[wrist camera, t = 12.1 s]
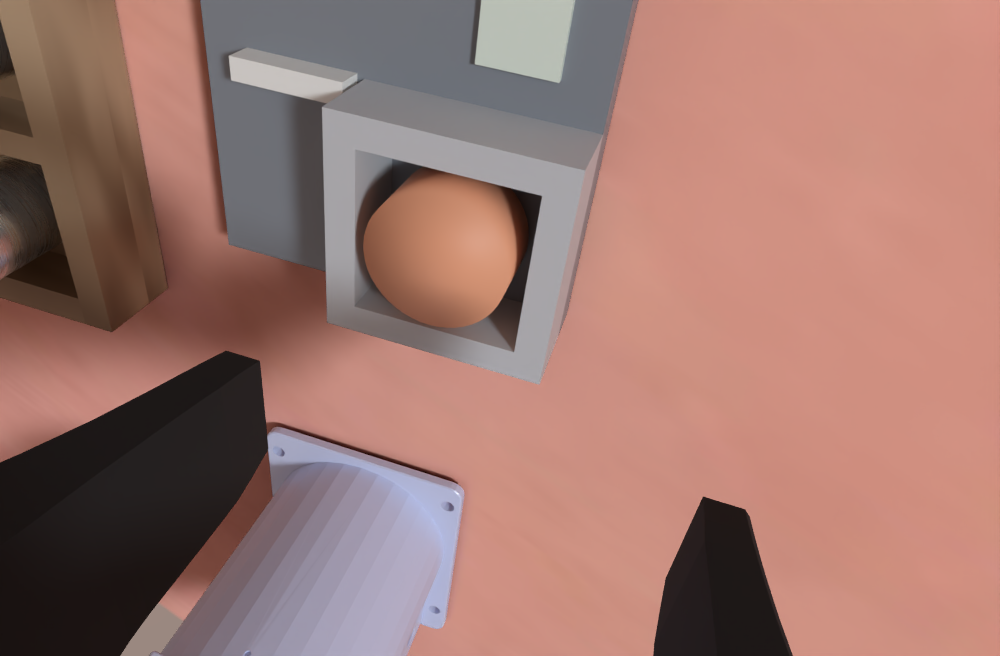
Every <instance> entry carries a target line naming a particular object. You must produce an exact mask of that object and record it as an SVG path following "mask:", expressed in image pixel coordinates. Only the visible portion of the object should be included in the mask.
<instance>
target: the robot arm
mask: <svg viewBox="0 0 1000 656" xmlns="http://www.w3.org/2000/svg"><path fill="white" fill-rule="evenodd" d="M267 450H268V454H269V464H270V474H271V484H272V495H273V498H272V499H271V500H270V502H269V503H268V505H267V506H266V507H265V509H264V510H263V512H262V513H261V514H260V516H259V517H258V518H257V520H256V521H255V523H254V524H253V525H252V527H251V528H250V530H249V531H248V532H247V534H246V535H245V537H244V538H243V539H242V541H241V542H240V544H239V545H238V546H237V548H236V549H235V550H234V552H233V553H232V555H231V556H230V557H229V559H228V560H227V562H226V563H225V564H224V566H223V567H222V569H221V570H220V571H219V573H218V574H217V576H216V577H215V578H214V580H213V581H212V582H211V584H210V585H209V587H208V588H207V589H206V591H205V592H204V594H203V595H202V596H201V598H200V599H199V601H198V602H197V603H196V605H195V606H194V607H193V609H192V610H191V612H190V613H189V614H188V616H187V617H186V619H185V620H184V621H183V623H182V624H181V626H180V627H179V628H178V630H177V631H176V633H175V634H174V635H173V637H172V638H171V639H170V641H169V642H168V644H167V645H166V646H165V648H164V649H163V651H162V652H161V653H159V652H157V651H153V652H151V653H150V655H149V656H407V654H408V651H409V649H410V647H411V644H412V642H413V640H414V637H415V635H416V632H417V630H418V628H419V625H420V624H423V625H425V626H428V627H431V628H435V629H439V628H442V627H443V625H444V623H445V620H446V616H447V609H448V602H449V596H450V589H451V582H452V576H453V569H454V562H455V555H456V549H457V542H458V535H459V529H460V522H461V515H462V508H463V502H464V491H463V489H462V488H461V487H460V486H459V485H458V484H456V483H454V482H451V481H448V480H445V479H442V478H439V477H436V476H433V475H429V474H426V473H423V472H420V471H417V470H414V469H411V468H408V467H404V466H401V465H398V464H395V463H392V462H389V461H386V460H383V459H379V458H376V457H373V456H370V455H367V454H364V453H361V452H358V451H354V450H351V449H348V448H345V447H342V446H339V445H336V444H333V443H329V442H326V441H323V440H320V439H317V438H314V437H311V436H308V435H304V434H301V433H298V432H295V431H292V430H289V429H286V428H283V427H274V428H273V429H272V430H271V431H270V432H269V433H268V435H267V429H266V419H265V408H264V398H263V388H262V378H261V368H260V361H258V360H255V359H252V358H248V357H245V356H242V355H238V354H235V353H232V352H229V351H225V352H223V353H221V354H219V355H217V356H215V357H213V358H211V359H209V360H207V361H205V362H203V363H201V364H199V365H197V366H195V367H193V368H192V369H190V370H188V371H186V372H184V373H182V374H180V375H178V376H176V377H175V378H173V379H171V380H169V381H167V382H165V383H163V384H161V385H160V386H158V387H156V388H154V389H152V390H150V391H148V392H146V393H144V394H142V395H140V396H139V397H137V398H135V399H133V400H131V401H129V402H127V403H125V404H123V405H121V406H119V407H117V408H115V409H113V410H111V411H109V412H107V413H105V414H104V415H102V416H100V417H98V418H96V419H94V420H92V421H90V422H87V423H85V424H83V425H81V426H79V427H77V428H75V429H73V430H70V431H68V432H66V433H64V434H62V435H60V436H58V437H55V438H53V439H51V440H49V441H47V442H45V443H43V444H41V445H38V446H36V447H34V448H32V449H30V450H28V451H26V452H23V453H21V454H19V455H17V456H14V457H12V458H10V459H7V460H5V461H3V462H0V656H120V655H121V654H122V652H123V651H124V649H125V648H126V646H127V644H128V643H129V641H130V640H131V639H132V637H133V636H134V634H135V633H136V632H137V630H138V629H139V628H140V626H141V625H142V623H143V622H144V621H145V619H146V618H147V617H148V615H149V614H150V613H151V611H152V610H153V609H154V608H155V606H156V605H157V604H158V602H159V601H160V600H161V599H162V597H163V596H164V595H165V594H166V592H167V591H168V590H169V588H170V587H171V586H172V585H173V583H174V582H175V581H176V580H177V578H178V577H179V576H180V574H181V573H182V572H183V571H184V569H185V568H186V567H187V566H188V564H189V563H190V562H191V560H192V559H193V558H194V557H195V555H196V554H197V553H198V552H199V550H200V549H201V548H202V546H203V545H204V544H205V543H206V541H207V540H208V539H209V538H210V536H211V535H212V534H213V532H214V531H215V530H216V528H217V527H218V526H219V525H220V523H221V522H222V521H223V519H224V518H225V517H226V516H227V514H228V513H229V512H230V510H231V509H232V508H233V506H234V505H235V504H236V502H237V501H238V499H239V498H240V496H241V494H242V493H243V491H244V490H245V488H246V486H247V485H248V483H249V481H250V480H251V478H252V476H253V475H254V473H255V471H256V469H257V468H258V466H259V464H260V463H261V461H262V459H263V457H264V456H265V454H266V452H267ZM653 656H793V655H792V652H791V650H790V647H789V644H788V641H787V638H786V636H785V633H784V630H783V627H782V625H781V622H780V619H779V616H778V613H777V610H776V607H775V604H774V601H773V598H772V594H771V591H770V588H769V585H768V582H767V578H766V575H765V572H764V568H763V565H762V562H761V558H760V555H759V551H758V547H757V544H756V540H755V536H754V532H753V528H752V524H751V520H750V517H749V515H748V513H747V512H746V510H745V509H742V508H739V507H735V506H732V505H729V504H726V503H722V502H719V501H716V500H712V499H709V498H706V497H703V498H702V500H701V502H700V505H699V507H698V509H697V511H696V513H695V516H694V518H693V520H692V522H691V524H690V526H689V529H688V531H687V533H686V535H685V537H684V540H683V542H682V544H681V546H680V548H679V550H678V553H677V555H676V557H675V559H674V561H673V564H672V566H671V568H670V570H669V572H668V574H667V577H666V580H665V585H664V591H663V596H662V602H661V607H660V613H659V619H658V625H657V631H656V637H655V643H654V655H653Z"/></svg>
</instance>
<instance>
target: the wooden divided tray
mask: <svg viewBox="0 0 1000 656" xmlns="http://www.w3.org/2000/svg"><path fill="white" fill-rule="evenodd" d="M0 20H1V24H2V27H3V31H4V34H5V38H6V41H7V45H8V49H9V52H10V56H11V59H12V63H13V66H14V70H15V74H16V75H13V76H9V77H6V78H3V79H0V157H2V156H4V155H6V156H10V157H14V158H17V159H21V160H25V161H28V162H32V163H35V164H39V165H41V167H42V170H43V174H44V177H45V181H46V184H47V188H48V192H49V195H50V199H51V202H52V206H53V210H54V213H55V217H56V220H57V224H58V227H59V231H60V235H61V238H62V243H61V244H59V245H57V246H56V247H54V248H52V249H51V250H49V251H47V252H46V253H44V254H42V255H41V256H39V257H37V258H36V259H34V260H32V261H31V262H29V263H27V264H26V265H24V266H22V267H21V268H19V269H17V270H16V271H14V272H12V273H11V274H9V275H7V276H6V277H4V278H2V279H1V280H0V298H3V299H7V300H10V301H13V302H16V303H19V304H23V305H26V306H29V307H32V308H36V309H39V310H42V311H45V312H48V313H52V314H55V315H58V316H61V317H65V318H68V319H71V320H74V321H78V322H81V323H84V324H87V325H90V326H94V327H97V328H100V329H103V330H107V331H110V332H113V331H114V330H116V329H117V328H118V327H119V326H121V325H122V324H123V323H124V322H126V321H127V320H128V319H130V318H131V317H132V316H133V315H135V314H136V313H137V312H138V311H140V310H141V309H142V308H143V307H145V306H146V305H147V304H149V303H150V302H151V301H152V300H154V299H155V298H156V297H157V296H159V295H160V294H161V293H163V292H164V291H165V290H166V289H168V286H167V281H166V275H165V270H164V265H163V259H162V254H161V248H160V243H159V238H158V232H157V227H156V221H155V216H154V211H153V205H152V200H151V194H150V189H149V184H148V178H147V173H146V167H145V162H144V157H143V151H142V146H141V140H140V135H139V130H138V124H137V119H136V113H135V108H134V103H133V97H132V92H131V87H130V81H129V76H128V70H127V65H126V60H125V54H124V49H123V43H122V38H121V33H120V27H119V22H118V16H117V11H116V6H115V0H0Z"/></svg>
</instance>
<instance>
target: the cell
mask: <svg viewBox="0 0 1000 656" xmlns="http://www.w3.org/2000/svg"><path fill="white" fill-rule="evenodd" d="M61 243H62V238H61V235H60V231H59V227H58V224H57V220H56V217H55V213H54V210H53V206H52V202H51V199H50V195H49V192H48V188H47V184H46V181H45V177H44V174H43V170H42V167H41V165H39V164H35V163H32V162H28V161H25V160H21V159H17V158H14V157H10V156H6V155H4V156H2V157H0V280H1V279H2V278H4V277H6V276H7V275H9V274H11V273H12V272H14V271H16V270H17V269H19V268H21V267H22V266H24V265H26V264H27V263H29V262H31V261H32V260H34V259H36V258H37V257H39V256H41V255H42V254H44V253H46V252H47V251H49V250H51V249H52V248H54V247H56V246H57V245H59V244H61Z"/></svg>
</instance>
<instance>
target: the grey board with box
mask: <svg viewBox="0 0 1000 656" xmlns="http://www.w3.org/2000/svg"><path fill="white" fill-rule="evenodd" d="M200 2H201V11H202V19H203V28H204V36H205V45H206V53H207V62H208V70H209V79H210V87H211V96H212V104H213V113H214V121H215V130H216V138H217V147H218V155H219V164H220V172H221V181H222V189H223V198H224V206H225V215H226V223H227V232H228V240H229V245H232V246H236V247H240V248H243V249H247V250H250V251H254V252H257V253H261V254H265V255H268V256H272V257H275V258H279V259H282V260H286V261H290V262H293V263H297V264H300V265H304V266H307V267H311V268H315V269H318V270H322V271H325V272H326V299H327V323H330V324H334V325H337V326H340V327H344V328H347V329H351V330H354V331H358V332H361V333H364V334H368V335H371V336H375V337H378V338H382V339H385V340H388V341H392V342H395V343H399V344H402V345H406V346H409V347H412V348H416V349H419V350H423V351H426V352H429V353H433V354H436V355H440V356H443V357H447V358H450V359H453V360H457V361H460V362H464V363H467V364H471V365H474V366H477V367H481V368H484V369H488V370H491V371H495V372H498V373H501V374H505V375H508V376H512V377H515V378H518V379H522V380H525V381H529V382H532V383H536V384H540V382H541V379H542V377H543V374H544V371H545V369H546V366H547V364H548V361H549V359H550V356H551V353H552V351H553V348H554V346H555V343H556V341H557V338H558V335H559V333H560V330H561V328H562V325H563V322H564V320H565V317H566V315H567V311H568V307H569V302H570V298H571V293H572V289H573V285H574V280H575V276H576V271H577V267H578V263H579V258H580V254H581V249H582V245H583V241H584V236H585V232H586V228H587V223H588V219H589V214H590V210H591V206H592V201H593V197H594V192H595V188H596V184H597V179H598V175H599V170H600V166H601V162H602V157H603V153H604V149H605V144H606V140H607V135H608V131H609V127H610V122H611V118H612V113H613V109H614V105H615V100H616V96H617V91H618V87H619V83H620V78H621V74H622V69H623V65H624V61H625V56H626V52H627V48H628V43H629V39H630V34H631V30H632V26H633V21H634V17H635V12H636V8H637V4H638V0H200ZM423 166H424V167H428V168H432V169H436V170H440V171H444V172H448V173H452V174H456V175H460V176H464V177H468V178H472V179H476V180H480V181H484V182H488V183H492V184H496V185H500V186H504V187H508V188H511V189H512V191H513V192H514V193H515V194H516V196H517V198H518V199H519V201H520V202H521V205H522V207H523V209H524V211H525V214H526V217H527V222H528V227H529V240H528V247H527V251H526V254H525V256H524V258H523V260H522V262H521V264H520V266H519V268H518V270H517V272H516V273H515V275H514V277H513V279H512V281H511V283H510V285H509V286H508V288H507V290H506V292H505V294H504V296H503V298H502V299H501V301H500V303H499V304H498V306H497V307H496V308H495V309H494V311H493V312H492V313H491V314H489V315H488V316H487V317H486V318H484V319H482V320H481V321H479V322H477V323H474V324H472V325H468V326H464V327H457V328H444V327H436V326H432V325H428V324H425V323H422V322H419V321H417V320H415V319H413V318H411V317H409V316H407V315H406V314H404V313H402V312H401V311H400V310H398V309H397V308H396V307H394V306H393V305H392V304H391V303H390V302H389V301H388V300H387V299H386V298H385V297H384V296H383V295H382V293H381V292H380V291H379V289H378V288H377V287H376V285H375V283H374V282H373V280H372V278H371V276H370V274H369V272H368V269H367V266H366V263H365V258H364V251H363V241H364V234H365V230H366V227H367V225H368V222H369V220H370V219H371V217H372V215H373V214H374V213H375V212H376V211H377V209H378V208H379V207H380V206H381V205H382V204H383V203H384V202H385V201H386V200H387V199H388V198H389V197H390V196H391V195H392V194H393V193H394V192H395V191H396V190H397V189H398V188H399V187H400V186H401V185H402V184H403V183H404V182H405V181H406V180H407V179H408V178H409V177H410V176H411V175H412V174H413V173H414V172H415V171H417V170H418V169H420V168H421V167H423Z"/></svg>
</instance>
